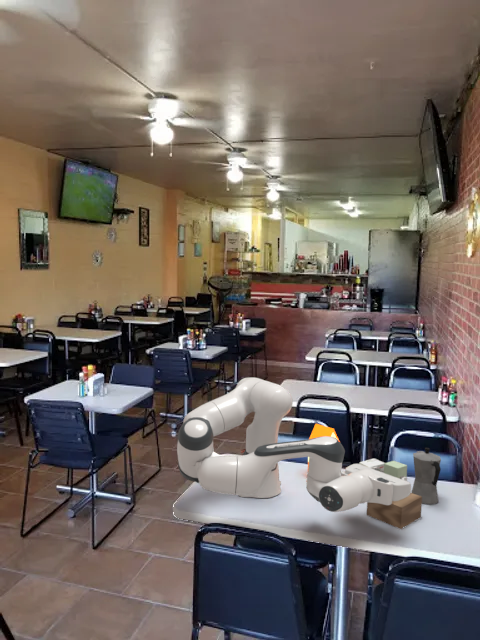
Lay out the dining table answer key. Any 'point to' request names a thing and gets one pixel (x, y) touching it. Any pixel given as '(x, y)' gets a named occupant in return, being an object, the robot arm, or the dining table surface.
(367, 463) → the ink box
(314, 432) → the orange juice
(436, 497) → the coffeepot
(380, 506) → the walnut block
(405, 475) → the sage block
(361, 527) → the dining table surface
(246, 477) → the robot arm
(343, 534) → the dining table surface
